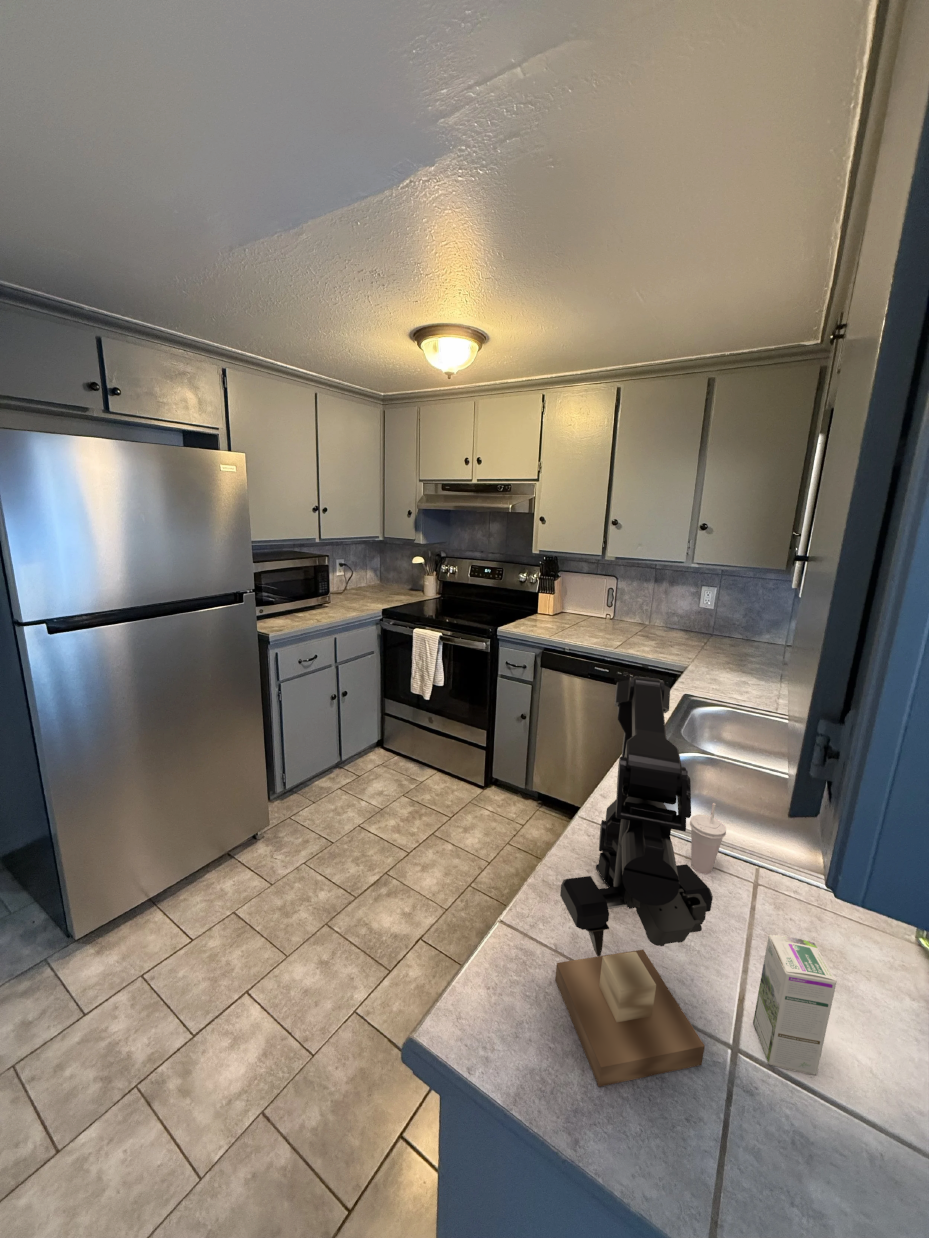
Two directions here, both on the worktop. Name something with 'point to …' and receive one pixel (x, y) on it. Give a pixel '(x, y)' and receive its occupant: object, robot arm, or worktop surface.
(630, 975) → the maple cube
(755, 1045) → the worktop surface
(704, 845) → the smoothie
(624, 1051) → the walnut base
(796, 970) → the syrup box
